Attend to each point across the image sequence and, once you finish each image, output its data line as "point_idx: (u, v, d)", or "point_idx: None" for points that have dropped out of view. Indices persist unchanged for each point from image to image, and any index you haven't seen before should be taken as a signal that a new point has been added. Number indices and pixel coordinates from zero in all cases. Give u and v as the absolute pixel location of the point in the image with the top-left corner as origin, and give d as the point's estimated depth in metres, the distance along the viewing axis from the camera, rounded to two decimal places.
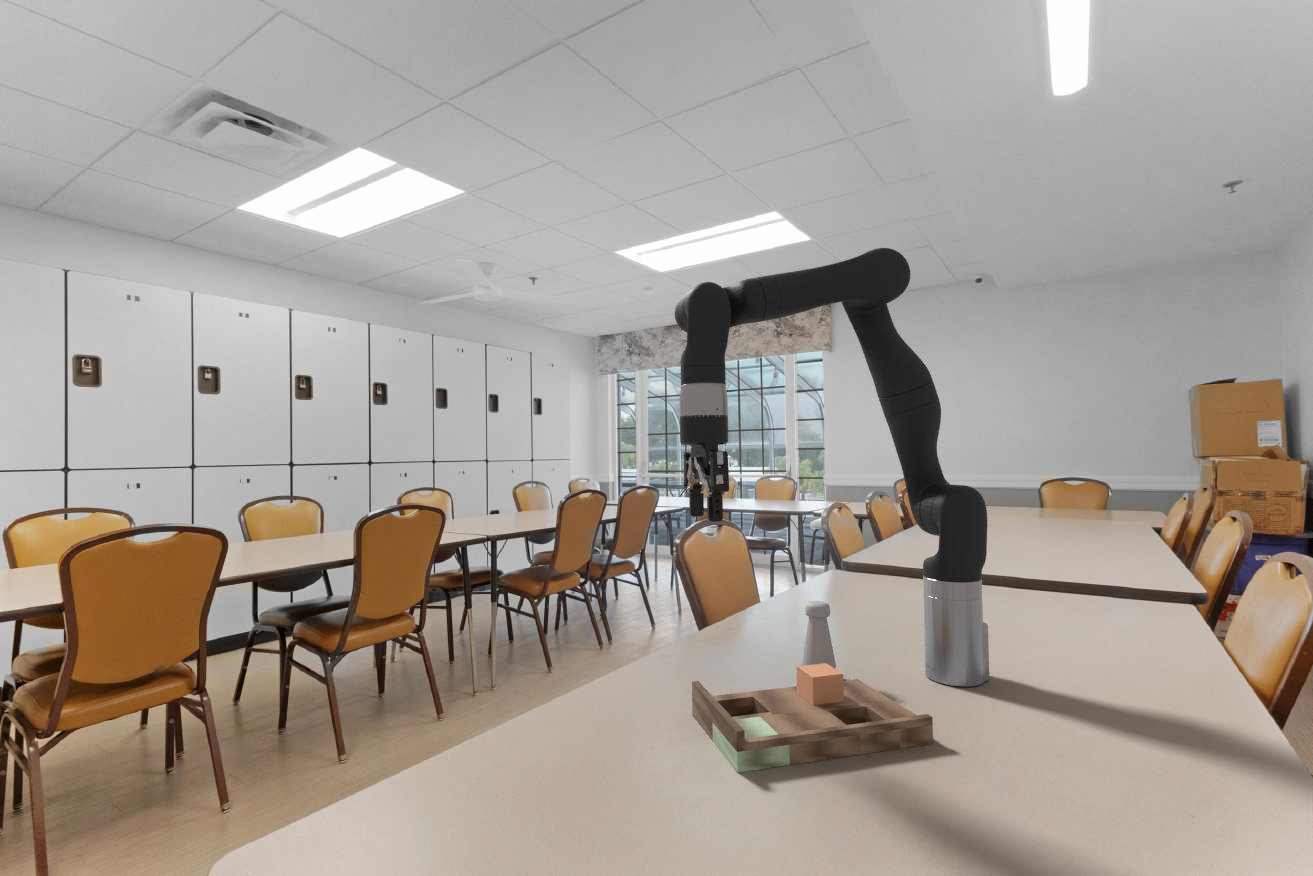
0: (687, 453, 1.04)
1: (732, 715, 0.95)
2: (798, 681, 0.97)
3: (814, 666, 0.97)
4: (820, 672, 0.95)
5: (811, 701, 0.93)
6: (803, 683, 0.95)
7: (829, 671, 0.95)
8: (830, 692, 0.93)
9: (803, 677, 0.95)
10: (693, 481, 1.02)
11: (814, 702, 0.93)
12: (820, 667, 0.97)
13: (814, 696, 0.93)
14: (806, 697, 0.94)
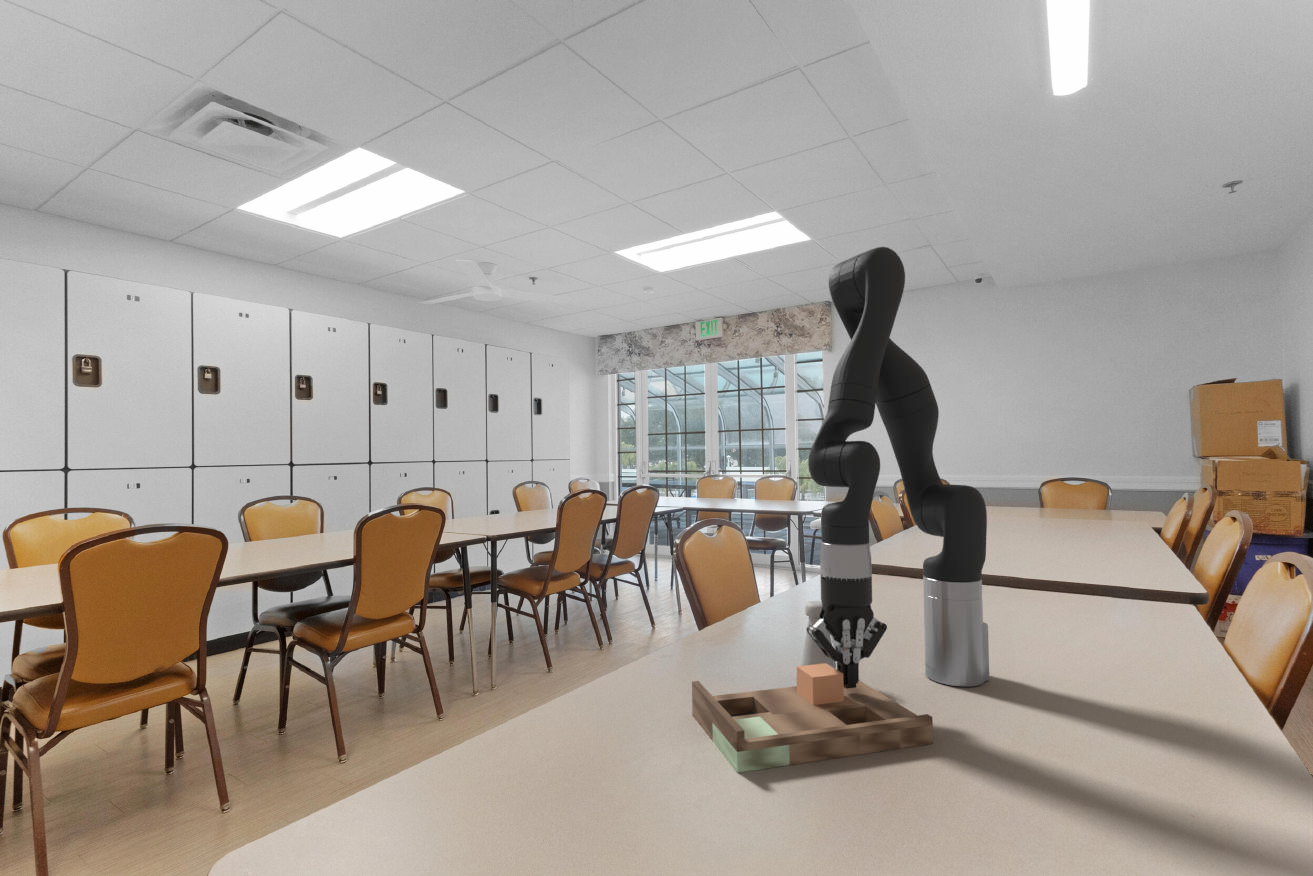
0: (817, 629, 0.95)
1: (732, 715, 0.95)
2: (798, 681, 0.97)
3: (814, 666, 0.97)
4: (820, 672, 0.95)
5: (811, 701, 0.93)
6: (803, 683, 0.95)
7: (829, 671, 0.95)
8: (830, 692, 0.93)
9: (803, 677, 0.95)
10: None
11: (814, 702, 0.93)
12: (820, 667, 0.97)
13: (814, 696, 0.93)
14: (806, 697, 0.94)
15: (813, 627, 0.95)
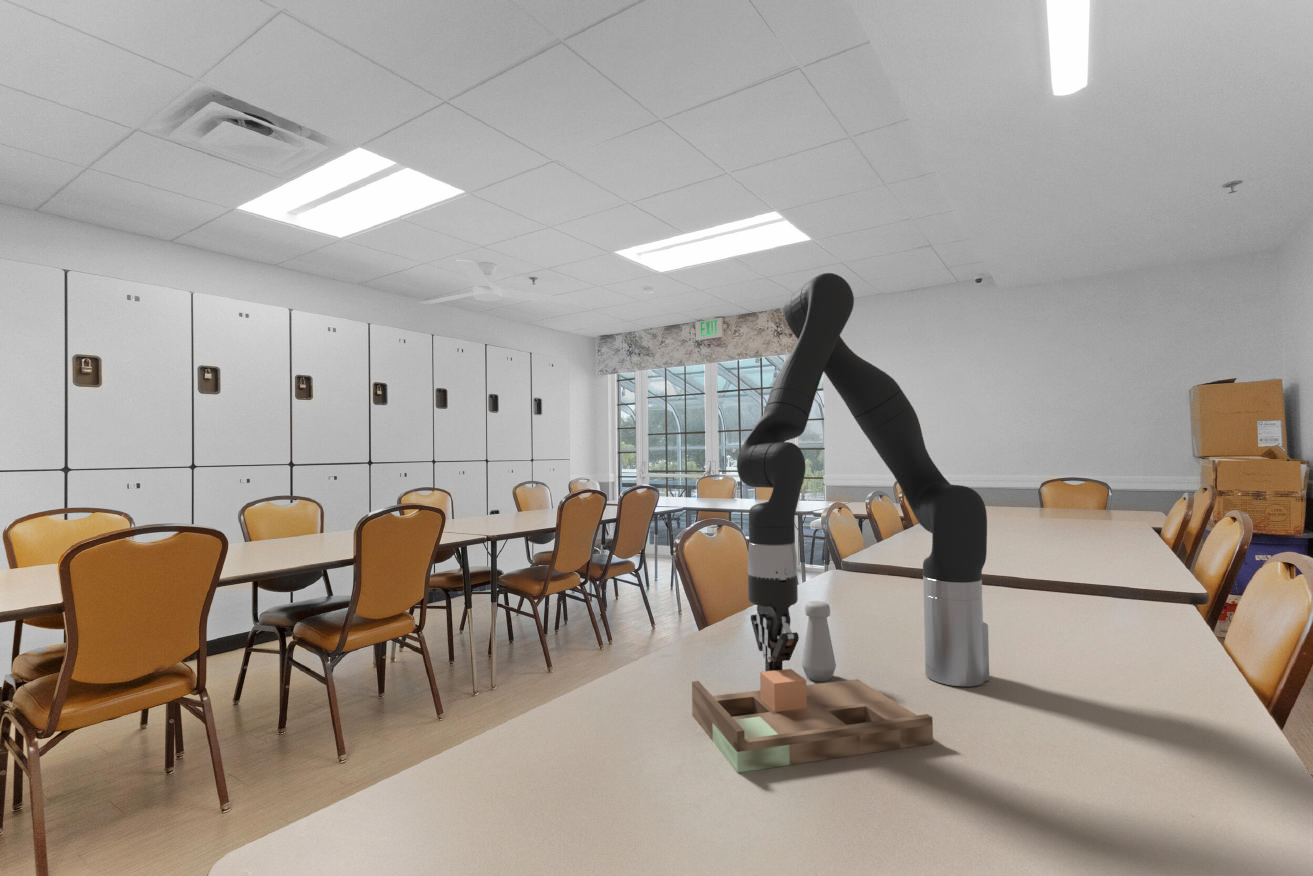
0: None
1: (732, 715, 0.95)
2: (761, 687, 0.95)
3: (778, 672, 0.95)
4: (783, 678, 0.92)
5: (773, 708, 0.91)
6: (766, 689, 0.93)
7: (793, 677, 0.93)
8: (792, 698, 0.91)
9: (766, 683, 0.93)
10: None
11: (776, 709, 0.90)
12: (784, 673, 0.95)
13: (775, 703, 0.90)
14: (768, 703, 0.92)
15: (789, 633, 0.93)
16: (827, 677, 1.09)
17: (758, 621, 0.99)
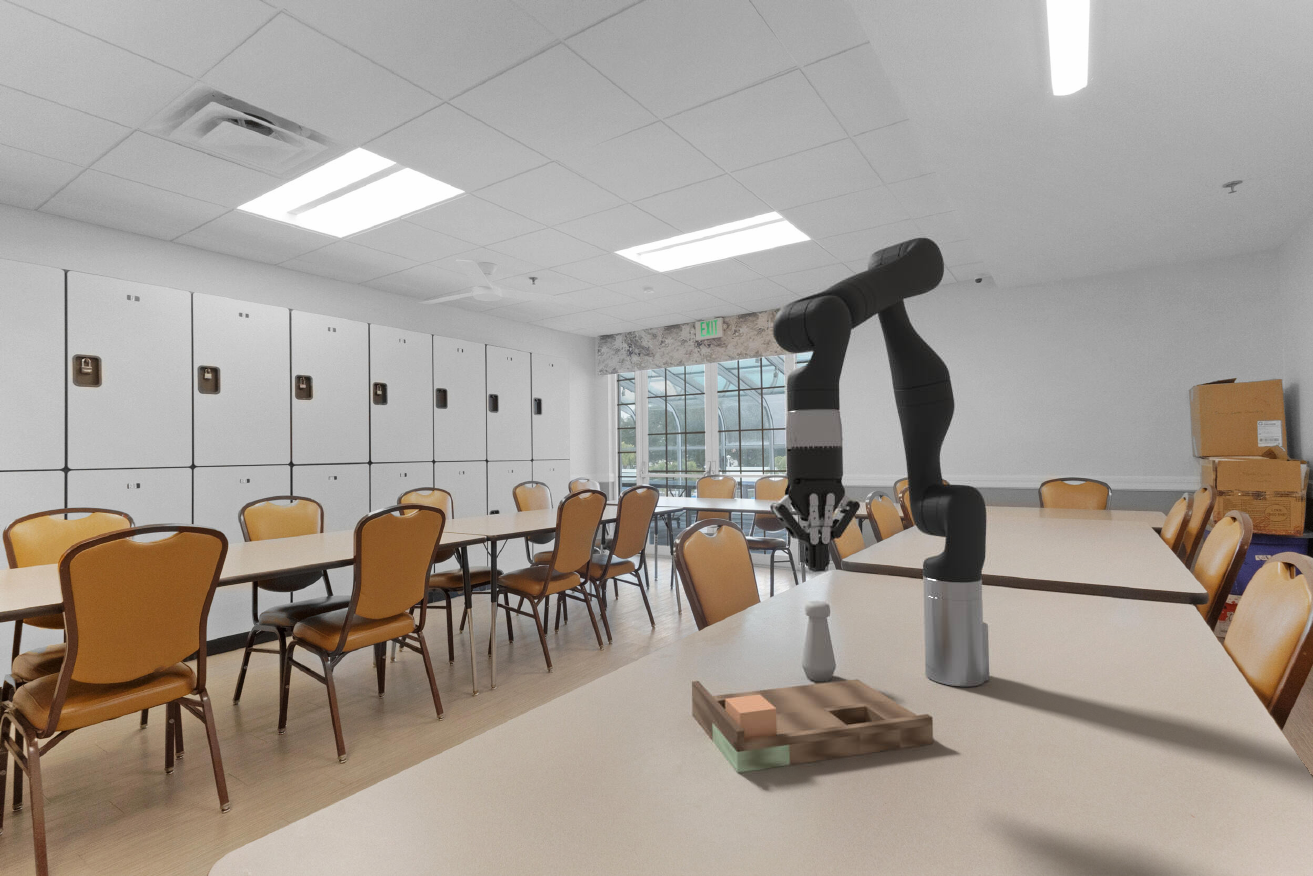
0: (781, 504, 0.85)
1: None
2: None
3: (745, 698, 0.85)
4: (750, 706, 0.82)
5: None
6: None
7: (761, 705, 0.82)
8: (760, 729, 0.81)
9: (731, 712, 0.83)
10: None
11: None
12: (752, 699, 0.84)
13: None
14: None
15: (777, 503, 0.86)
16: (827, 677, 1.09)
17: None
